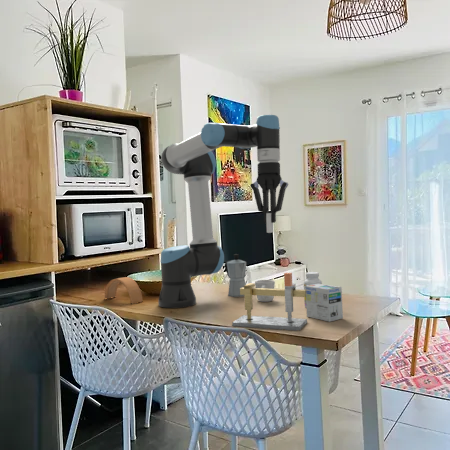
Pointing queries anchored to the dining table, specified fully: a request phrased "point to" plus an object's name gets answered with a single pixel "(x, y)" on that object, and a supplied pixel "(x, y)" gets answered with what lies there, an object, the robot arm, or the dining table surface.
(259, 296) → the cup
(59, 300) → the dining table surface
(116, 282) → the arch
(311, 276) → the supplement bottle
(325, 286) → the light bulb box
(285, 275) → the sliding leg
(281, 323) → the bolt plate
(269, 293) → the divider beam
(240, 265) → the coffee maker
